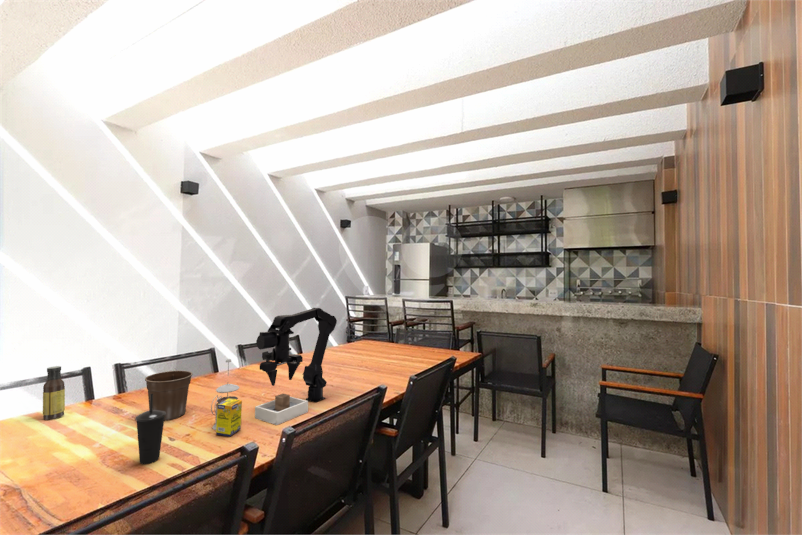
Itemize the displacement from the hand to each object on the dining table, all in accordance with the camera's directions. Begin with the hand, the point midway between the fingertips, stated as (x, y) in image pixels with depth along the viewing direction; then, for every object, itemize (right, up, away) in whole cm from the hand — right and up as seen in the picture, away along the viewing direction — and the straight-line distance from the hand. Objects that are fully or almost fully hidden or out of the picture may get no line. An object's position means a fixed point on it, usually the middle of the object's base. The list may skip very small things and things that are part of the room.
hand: (281, 382), depth 149 cm
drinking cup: (-26, -10, -42) cm, 50 cm away
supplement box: (-12, -11, -22) cm, 27 cm away
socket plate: (+2, -12, -5) cm, 13 cm away
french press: (-16, -11, -16) cm, 25 cm away
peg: (+2, -11, -5) cm, 12 cm away
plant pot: (-44, -11, -7) cm, 46 cm away
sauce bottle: (-88, -11, -9) cm, 89 cm away
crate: (+2, -12, -5) cm, 13 cm away
